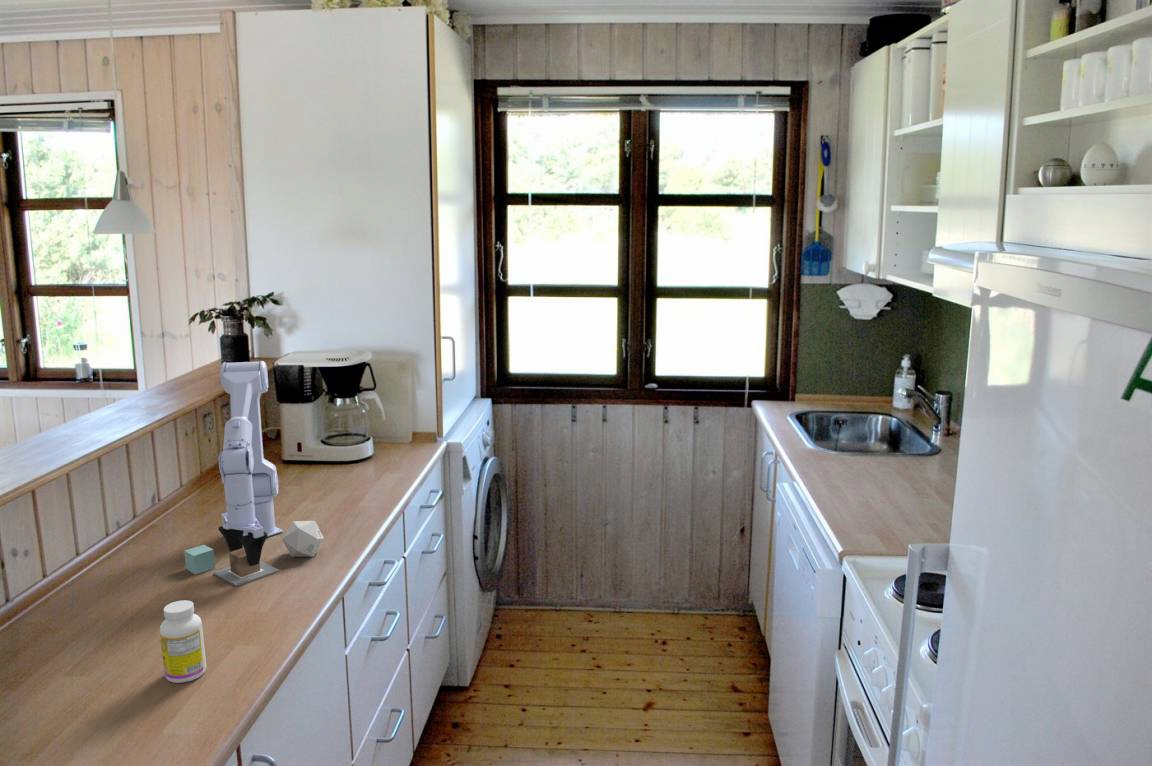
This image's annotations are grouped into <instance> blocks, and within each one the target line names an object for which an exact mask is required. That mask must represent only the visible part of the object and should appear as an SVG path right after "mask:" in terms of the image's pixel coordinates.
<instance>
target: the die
mask: <svg viewBox="0 0 1152 766" xmlns="http://www.w3.org/2000/svg"><path fill="white" fill-rule="evenodd" d="M324 539H325V537H324V536H323V534H322V532H321V530H320V527H319V526H318V524H317V522H316V520H297V521H296V520H292V522H291V524H290V526H289V527H288V529H287V530H286V532H285V533H284V535H283V537H282V542H283V544H284V547H286V549H287V551H288V553H289V554H290V556H291V558H313V557H315V555H316V554H317V551H319V548H320V546H321V544H322V543H323V541H324Z"/></svg>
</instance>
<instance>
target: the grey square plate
mask: <svg viewBox="0 0 1152 766" xmlns="http://www.w3.org/2000/svg"><path fill="white" fill-rule="evenodd" d="M279 572H280V570H279V569H278V568H276V567H274V566H272V565H270V564H269V563H266V562H264V561H262V560H261V559H260V571H258V572H255V573H252V574H249V575H246V576H243V577H240V576H238V575H236V574H234V573H233V572H231V567H230V566H228V567H224V568H223V569H222V568H221V569H219V570H215V571H213V575H215V576H217V577H219V578H220V579H222V580H223V581H225V582H227V583H229V584H231V585H232V586H235V587H240V586H242V585H245V584H249V583H251V582H254V581H257V580H259V579H262V578H265V577H267V576H270V575H273V574H275V573H279Z"/></svg>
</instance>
